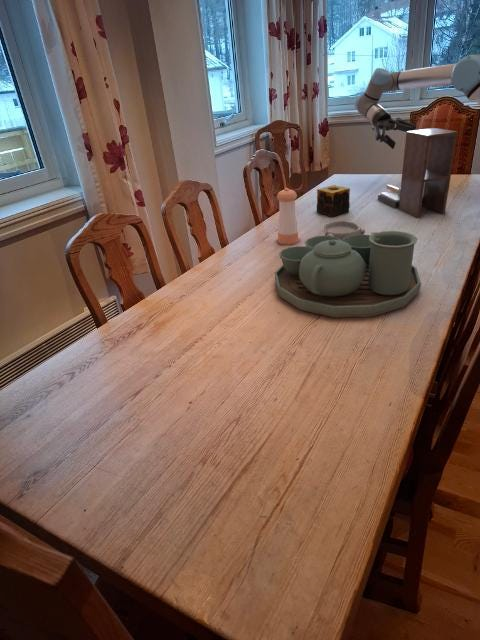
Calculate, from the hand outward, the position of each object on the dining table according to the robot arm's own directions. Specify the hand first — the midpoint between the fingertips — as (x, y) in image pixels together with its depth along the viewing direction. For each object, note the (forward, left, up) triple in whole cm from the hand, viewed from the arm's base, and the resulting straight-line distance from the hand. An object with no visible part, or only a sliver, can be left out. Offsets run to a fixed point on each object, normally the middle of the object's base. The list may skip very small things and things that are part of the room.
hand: (407, 142), depth 181 cm
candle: (-5, +35, -24) cm, 43 cm away
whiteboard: (-5, +3, -23) cm, 24 cm away
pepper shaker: (-30, +63, -24) cm, 74 cm away
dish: (-37, +45, -24) cm, 63 cm away
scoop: (-3, +3, -20) cm, 21 cm away
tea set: (-72, +60, -24) cm, 96 cm away
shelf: (-20, +3, -23) cm, 31 cm away
